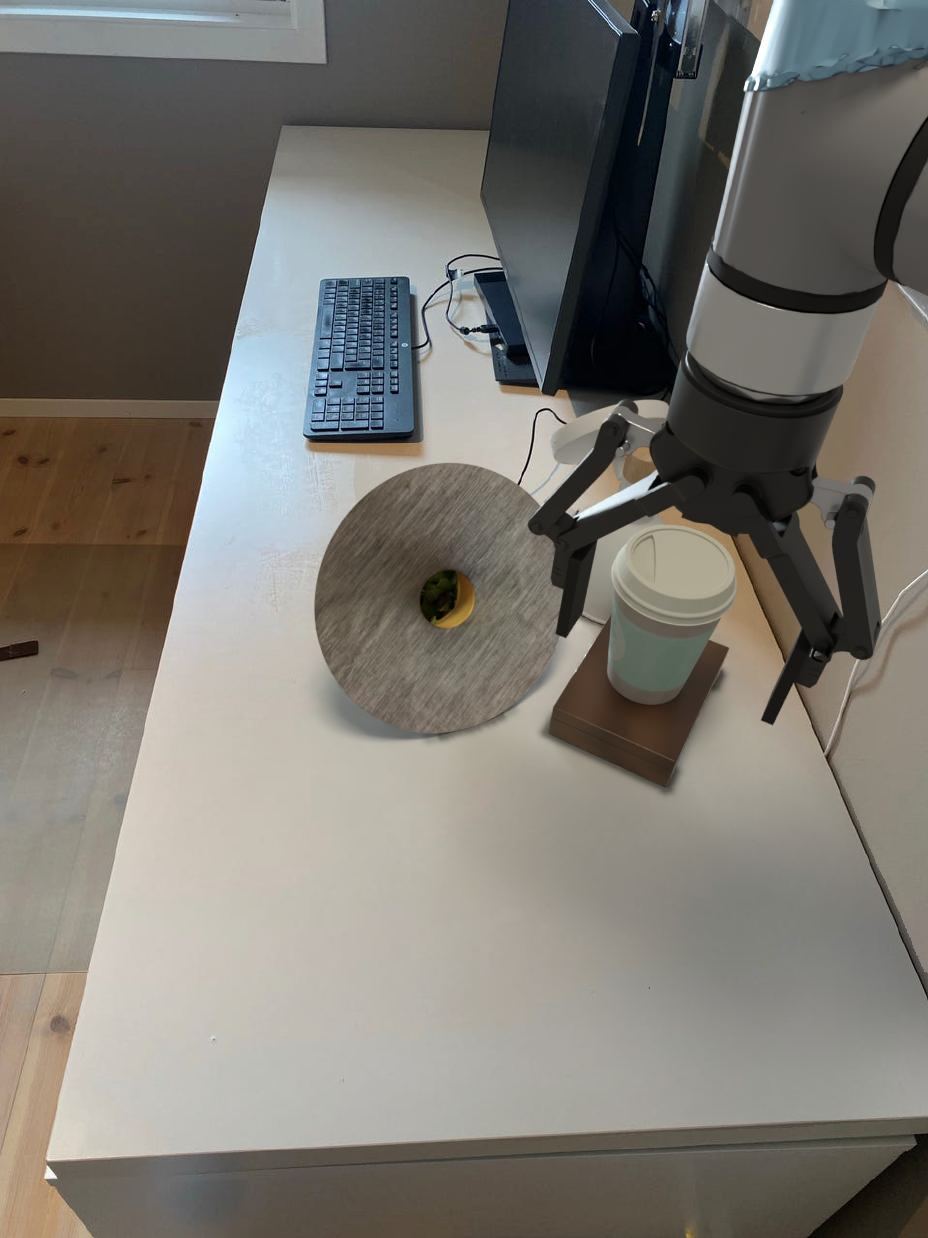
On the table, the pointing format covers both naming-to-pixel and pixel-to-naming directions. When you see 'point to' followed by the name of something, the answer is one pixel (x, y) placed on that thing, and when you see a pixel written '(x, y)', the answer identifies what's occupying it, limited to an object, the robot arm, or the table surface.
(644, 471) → the light fixture
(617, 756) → the wooden trinket box
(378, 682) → the grey round piece
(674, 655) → the coffee cup
